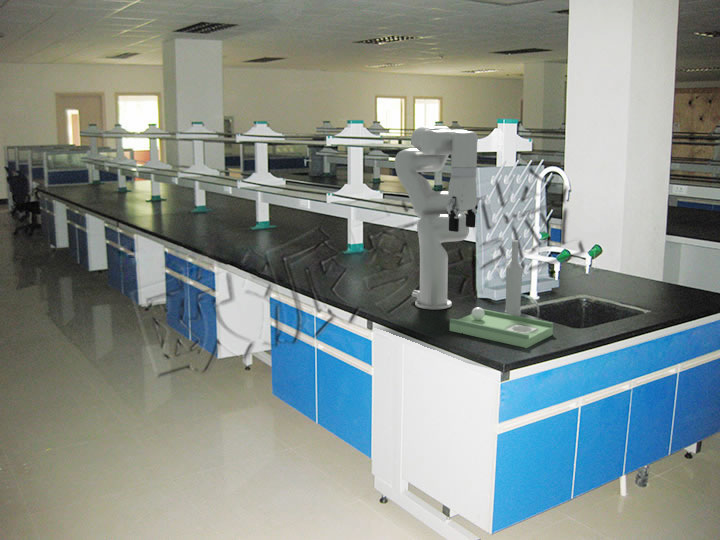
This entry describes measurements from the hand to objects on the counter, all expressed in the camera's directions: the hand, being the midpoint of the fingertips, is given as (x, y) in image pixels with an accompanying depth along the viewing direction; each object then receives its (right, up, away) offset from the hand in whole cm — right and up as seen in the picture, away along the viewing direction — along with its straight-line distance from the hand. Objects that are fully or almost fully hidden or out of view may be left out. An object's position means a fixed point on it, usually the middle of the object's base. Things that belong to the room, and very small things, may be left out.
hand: (462, 229), depth 212 cm
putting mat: (+11, -31, -4) cm, 34 cm away
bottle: (+18, -28, +13) cm, 36 cm away
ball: (+5, -26, 0) cm, 27 cm away
